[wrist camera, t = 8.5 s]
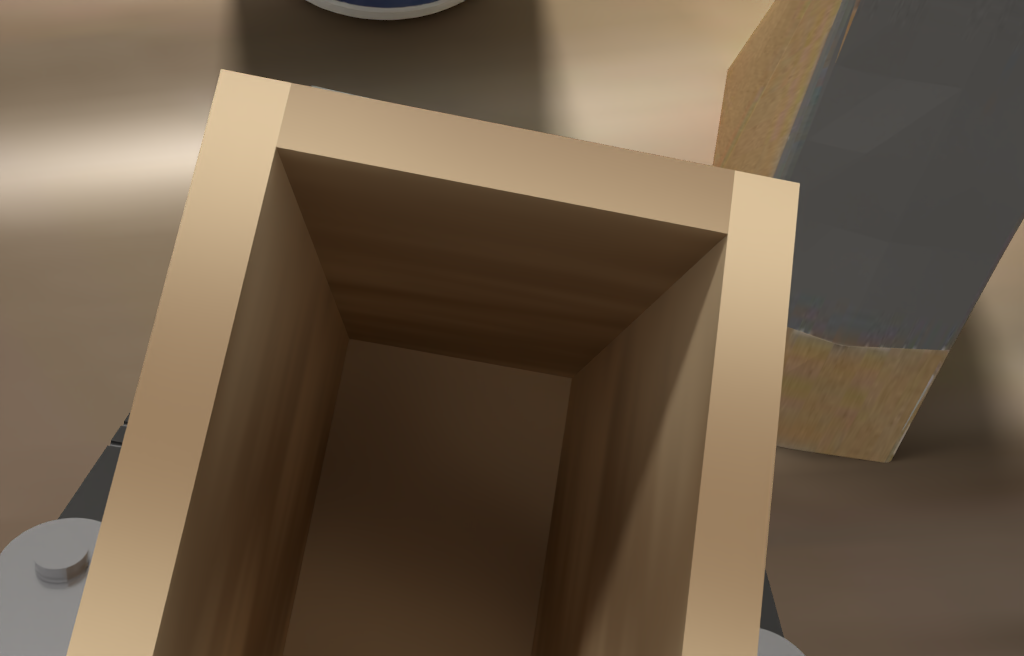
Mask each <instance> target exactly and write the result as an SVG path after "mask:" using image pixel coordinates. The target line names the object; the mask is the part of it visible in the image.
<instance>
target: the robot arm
mask: <svg viewBox="0 0 1024 656" xmlns="http://www.w3.org/2000/svg"><path fill="white" fill-rule="evenodd" d="M130 413H131V412H130ZM130 413H129V415H128V416H127V418H126V419H125V421H124V425H123V426H121V427H120V428H119V430H118V431H117V433H116V434H115V435H114V437H113V438H112V440H111V444H110V446H107V447H106V449H105V450H104V452H103V453H102V455H101V456H100V458H99V459H98V461H97V462H96V464H95V465H94V467H93V468H92V470H91V471H90V473H89V474H88V475H87V477H86V478H85V480H84V481H83V483H82V484H81V486H80V487H79V489H78V490H77V492H76V493H75V495H74V496H73V498H72V499H71V501H70V502H69V504H68V505H67V507H66V508H65V510H64V511H63V513H62V514H61V515H60V517H59V518H58V519H57V520H53V521H49V522H46V523H43V524H40V525H37V526H35V527H33V528H31V529H29V530H27V531H25V532H23V533H22V534H20V535H19V536H18V537H16V538H15V539H14V540H12V541H11V542H10V543H9V544H8V545H7V546H6V547H5V549H4V550H3V552H2V553H1V554H0V656H66V655H67V651H68V647H69V644H70V640H71V636H72V632H73V628H74V625H75V621H76V617H77V613H78V609H79V606H80V602H81V598H82V594H83V591H84V587H85V583H86V579H87V575H88V572H89V568H90V564H91V560H92V556H93V553H94V549H95V545H96V541H97V538H98V534H99V530H100V526H101V522H102V519H103V515H104V511H105V507H106V503H107V500H108V496H109V492H110V488H111V484H112V481H113V477H114V473H115V469H116V466H117V462H118V458H119V454H120V450H121V447H122V443H123V439H124V435H125V431H126V428H127V424H128V420H129V416H130ZM757 656H805V655H804V654H803V653H802V652H801V651H800V650H799V649H798V648H797V647H796V646H794V645H793V644H792V643H790V642H789V641H788V640H786V639H784V636H783V632H782V629H781V625H780V621H779V618H778V614H777V610H776V607H775V603H774V599H773V596H772V592H771V588H770V584H769V581H768V577H767V573H766V570H765V574H764V585H763V596H762V607H761V618H760V629H759V640H758V651H757Z"/></svg>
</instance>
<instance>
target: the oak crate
mask: <svg viewBox="0 0 1024 656" xmlns="http://www.w3.org/2000/svg"><path fill="white" fill-rule="evenodd" d="M799 188H800V183H796V182H791V181H786V180H781V179H776V178H771V177H766V176H761V175H755V174H750V173H745V172H740V171H735V170H730V169H725V168H720V167H715V166H710V165H705V164H700V163H695V162H690V161H684V160H679V159H674V158H669V157H664V156H659V155H654V154H649V153H644V152H639V151H634V150H629V149H624V148H619V147H614V146H608V145H603V144H598V143H593V142H588V141H583V140H578V139H573V138H568V137H563V136H558V135H553V134H548V133H543V132H538V131H532V130H527V129H522V128H517V127H512V126H507V125H502V124H497V123H492V122H487V121H482V120H477V119H472V118H467V117H461V116H456V115H451V114H446V113H441V112H436V111H431V110H426V109H421V108H416V107H411V106H406V105H401V104H396V103H391V102H385V101H380V100H375V99H370V98H365V97H360V96H355V95H350V94H345V93H340V92H335V91H330V90H325V89H320V88H314V87H309V86H304V85H299V84H294V83H289V82H284V81H279V80H274V79H269V78H264V77H259V76H254V75H249V74H244V73H238V72H233V71H228V70H223V69H221V72H220V76H219V79H218V83H217V87H216V91H215V95H214V98H213V102H212V106H211V110H210V113H209V117H208V121H207V125H206V129H205V132H204V136H203V140H202V144H201V148H200V151H199V155H198V159H197V163H196V166H195V170H194V174H193V178H192V182H191V185H190V189H189V193H188V197H187V201H186V204H185V208H184V212H183V216H182V219H181V223H180V227H179V231H178V235H177V238H176V242H175V246H174V250H173V254H172V257H171V261H170V265H169V269H168V272H167V276H166V280H165V284H164V288H163V291H162V295H161V299H160V303H159V307H158V310H157V314H156V318H155V322H154V325H153V329H152V333H151V337H150V341H149V344H148V348H147V352H146V356H145V360H144V363H143V367H142V371H141V375H140V378H139V382H138V386H137V390H136V394H135V397H134V401H133V405H132V409H131V413H130V416H129V420H128V424H127V428H126V431H125V435H124V439H123V443H122V447H121V450H120V454H119V458H118V462H117V466H116V469H115V473H114V477H113V481H112V484H111V488H110V492H109V496H108V500H107V503H106V507H105V511H104V515H103V519H102V522H101V526H100V530H99V534H98V538H97V541H96V545H95V549H94V553H93V556H92V560H91V564H90V568H89V572H88V575H87V579H86V583H85V587H84V591H83V594H82V598H81V602H80V606H79V609H78V613H77V617H76V621H75V625H74V628H73V632H72V636H71V640H70V644H69V647H68V651H67V655H66V656H757V651H758V640H759V629H760V618H761V607H762V596H763V585H764V574H765V563H766V552H767V541H768V530H769V519H770V508H771V497H772V486H773V475H774V464H775V453H776V442H777V431H778V420H779V409H780V398H781V387H782V376H783V365H784V354H785V343H786V332H787V320H788V309H789V298H790V287H791V276H792V265H793V254H794V243H795V232H796V221H797V210H798V199H799Z"/></svg>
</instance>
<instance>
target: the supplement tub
mask: <svg viewBox="0 0 1024 656" xmlns="http://www.w3.org/2000/svg"><path fill="white" fill-rule="evenodd" d="M306 1H308V2H310V3H312V4H314V5H316V6H318V7H320V8H323V9H326V10H329V11H332V12H335V13H338V14H342V15H346V16H351V17H357V18H362V19H374V20H400V19H408V18H416V17H421V16H425V15H430V14H433V13H437V12H439V11H442V10H445V9H448V8H450V7H453V6H455V5H457V4H459V3H462V2H463V1H465V0H306Z"/></svg>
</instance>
